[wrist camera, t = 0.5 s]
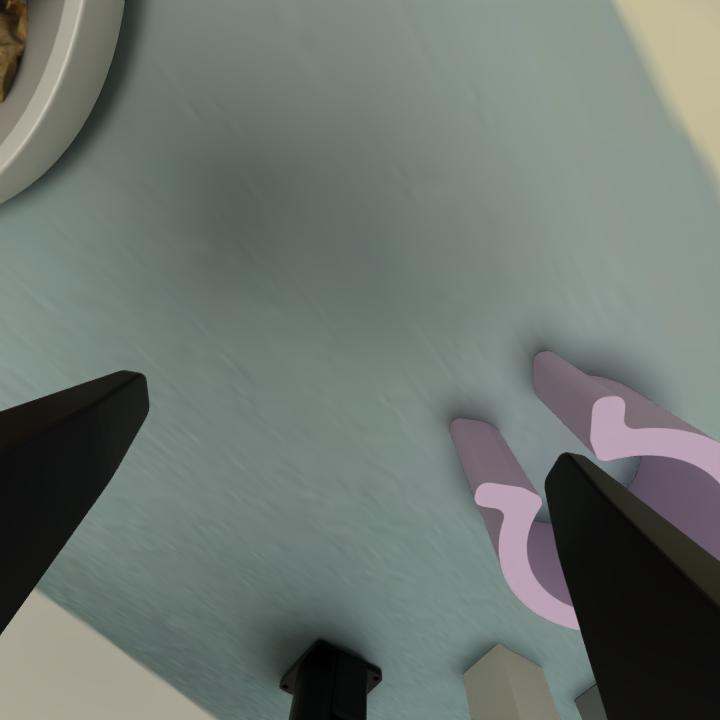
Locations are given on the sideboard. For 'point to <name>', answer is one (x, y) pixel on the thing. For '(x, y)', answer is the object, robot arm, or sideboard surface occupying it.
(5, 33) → the bowl
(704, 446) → the clip
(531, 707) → the block
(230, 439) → the sideboard surface
